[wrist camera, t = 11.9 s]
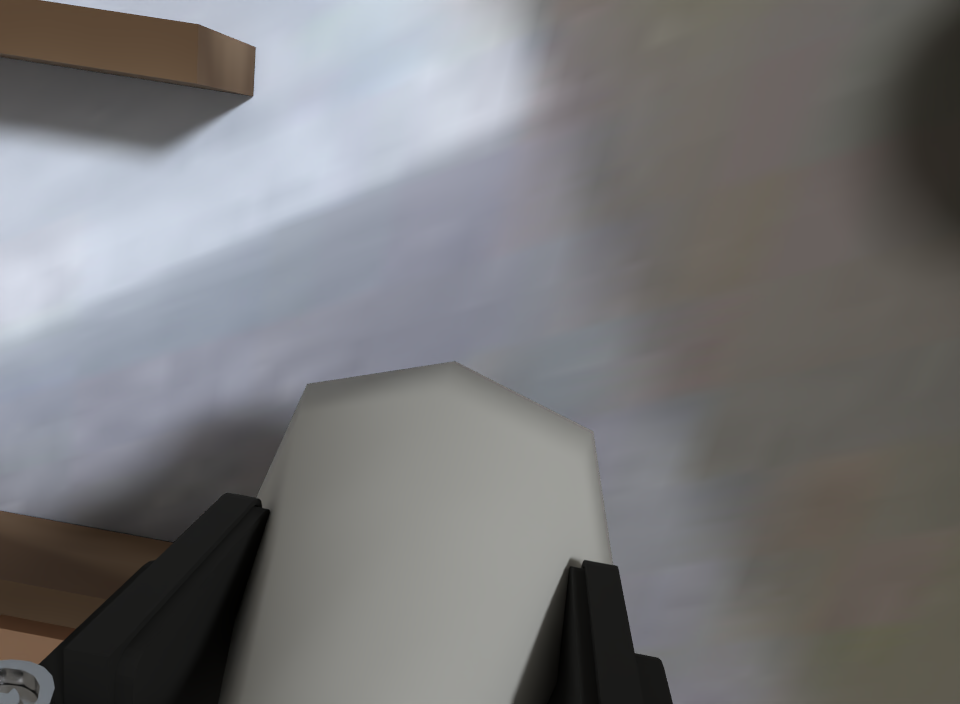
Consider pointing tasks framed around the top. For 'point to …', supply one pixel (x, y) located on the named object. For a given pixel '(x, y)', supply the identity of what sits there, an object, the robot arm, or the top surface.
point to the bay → (138, 54)
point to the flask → (416, 545)
